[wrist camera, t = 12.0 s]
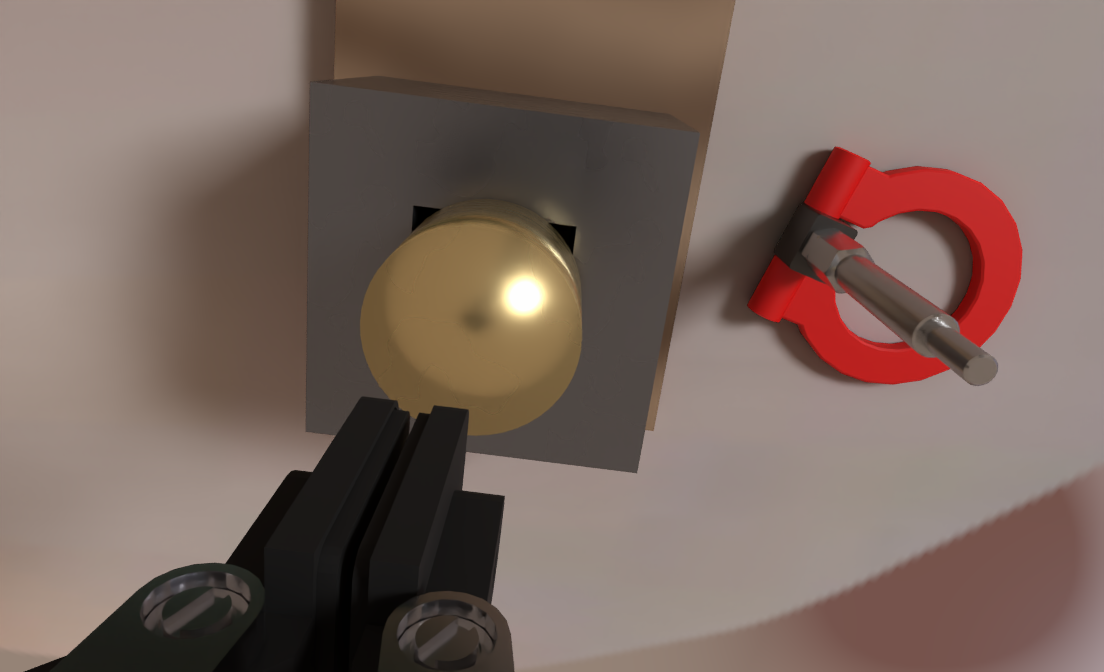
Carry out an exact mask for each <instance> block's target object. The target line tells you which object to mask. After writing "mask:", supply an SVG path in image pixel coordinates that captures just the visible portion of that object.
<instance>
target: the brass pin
mask: <svg viewBox="0 0 1104 672" xmlns="http://www.w3.org/2000/svg"><path fill="white" fill-rule="evenodd" d="M360 336H361V342H362V348H363V352H364V355H365V358H366V362H367V364H368V366H369V368H370V370H371V373H372V375H373V376H374V378H375V380H376V381H377V383H378V384H379V386H380V387H381V389H382V390H383V391H384V392H385V394H386V395H387V396H388V397H389V398H390V399H391V400H396V401H398V405H399V408H401V409H402V410H403V411H409V412H410V416H411V417H413V418H415V419H416V418H417V416H418V414H419V412H420V413H428V414H430V413H431V411H432V408H433V406H434V405H437V406H445V407H453V408H461V409H468V410H469V423H468V433H467V435H472V436H480V435H492V434H498V433H503V432H507V431H510V430H513V429H516V428H519V427H521V426H523V425H525V424H528V423H530V422H531V421H533V420H534V419H536V418H538V417H539V416H541V415H542V414H543V413H545V412H546V411H547V410H548V409H550V408H551V407H552V406H553V405H554V403H555V402H556V401H557V400H558V399H559V398H560V397H561V396H562V394H563V393H564V391H565V390H566V389H567V387H568V385H569V383H570V382H571V380H572V378H573V376H574V373H575V371H576V368H577V365H578V362H579V357H580V353H581V344H582V298H581V280H580V275H579V270H578V267H577V264H576V261H575V258H574V256H573V254H572V252H571V250H570V248H569V246H568V245H567V243H566V242H565V240H564V239H563V238H562V236H561V235H560V234H559V233H558V232H557V231H556V229H555V228H554V227H553V226H552V225H550V224H549V223H548V222H547V221H546V220H545V219H543V218H542V217H540V216H539V215H537V214H536V213H534V212H533V211H530V210H528V209H526V208H524V207H522V206H520V205H517V204H514V203H511V202H507V201H501V200H496V199H473V200H467V201H462V202H458V203H455V204H452V205H449V206H446V207H444V208H443V209H441V210H439V211H437V212H435V213H434V214H432V215H431V216H429V217H428V218H426V219H425V220H424V221H423V222H422V223H421V224H420V225H419V226H418V227H417V228H416V229H415V230H414V231H413V232H412V233H411V234H410V235H409V236H408V237H407V238H406V239H405V240H404V241H403V242H402V243H401V244H400V246H399V247H398V248H397V249H396V250H395V251H394V252H393V253H392V254H391V255H390V256H389V257H388V258H387V259H386V260H385V262H384V263H383V264H382V265H381V267H380V268H379V269H378V270H377V272H376V274H375V275H374V277H373V279H372V280H371V282H370V284H369V287H368V289H367V291H366V294H365V297H364V301H363V305H362V309H361V318H360Z"/></svg>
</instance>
